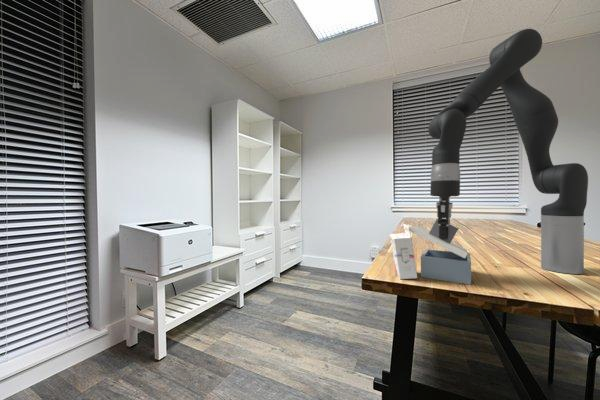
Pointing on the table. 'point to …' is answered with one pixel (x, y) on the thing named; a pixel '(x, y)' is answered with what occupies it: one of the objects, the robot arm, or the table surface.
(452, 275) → the gray open box
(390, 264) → the table surface
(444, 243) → the lid
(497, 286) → the table surface
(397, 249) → the ink cartridge box
